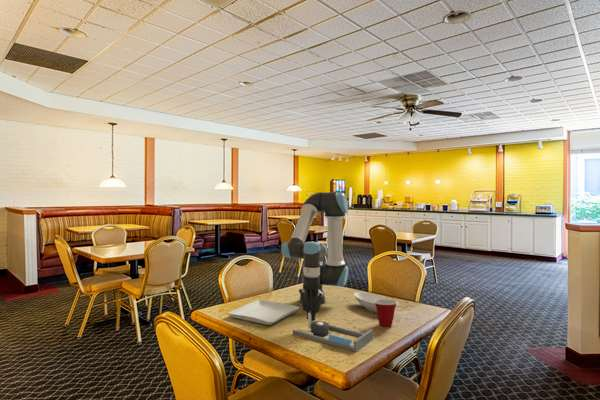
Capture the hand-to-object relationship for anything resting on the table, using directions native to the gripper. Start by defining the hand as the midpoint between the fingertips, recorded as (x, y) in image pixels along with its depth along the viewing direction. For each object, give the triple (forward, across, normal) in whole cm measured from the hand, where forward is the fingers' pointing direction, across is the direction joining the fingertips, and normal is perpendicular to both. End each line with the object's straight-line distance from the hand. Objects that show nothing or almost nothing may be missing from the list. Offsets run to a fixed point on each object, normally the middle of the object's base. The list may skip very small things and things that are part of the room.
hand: (311, 327), depth 162 cm
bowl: (+2, +10, +47) cm, 48 cm away
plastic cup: (+2, +25, +27) cm, 37 cm away
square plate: (+2, -31, +3) cm, 31 cm away
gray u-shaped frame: (+2, +11, 0) cm, 11 cm away
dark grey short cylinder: (+2, +5, 0) cm, 5 cm away
